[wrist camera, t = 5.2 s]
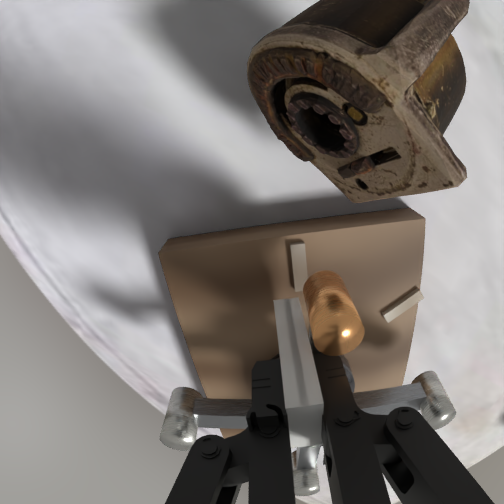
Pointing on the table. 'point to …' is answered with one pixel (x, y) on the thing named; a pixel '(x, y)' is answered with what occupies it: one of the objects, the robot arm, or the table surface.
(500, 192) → the table surface
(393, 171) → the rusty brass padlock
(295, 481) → the grey star handwheel
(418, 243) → the stand board
